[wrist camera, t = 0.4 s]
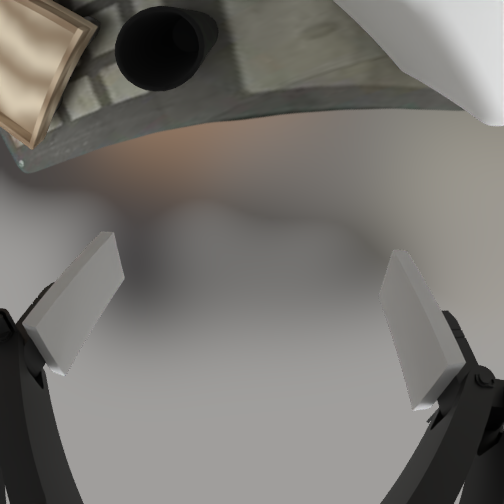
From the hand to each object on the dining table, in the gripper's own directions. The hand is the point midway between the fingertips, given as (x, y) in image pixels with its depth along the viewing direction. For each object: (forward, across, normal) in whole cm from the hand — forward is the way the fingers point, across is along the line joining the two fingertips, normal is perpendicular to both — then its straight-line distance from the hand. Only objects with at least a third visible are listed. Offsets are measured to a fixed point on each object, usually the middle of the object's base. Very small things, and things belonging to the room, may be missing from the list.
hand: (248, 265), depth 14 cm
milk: (+23, +14, +20) cm, 33 cm away
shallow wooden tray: (+22, -31, +18) cm, 43 cm away
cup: (+24, -9, +14) cm, 29 cm away
